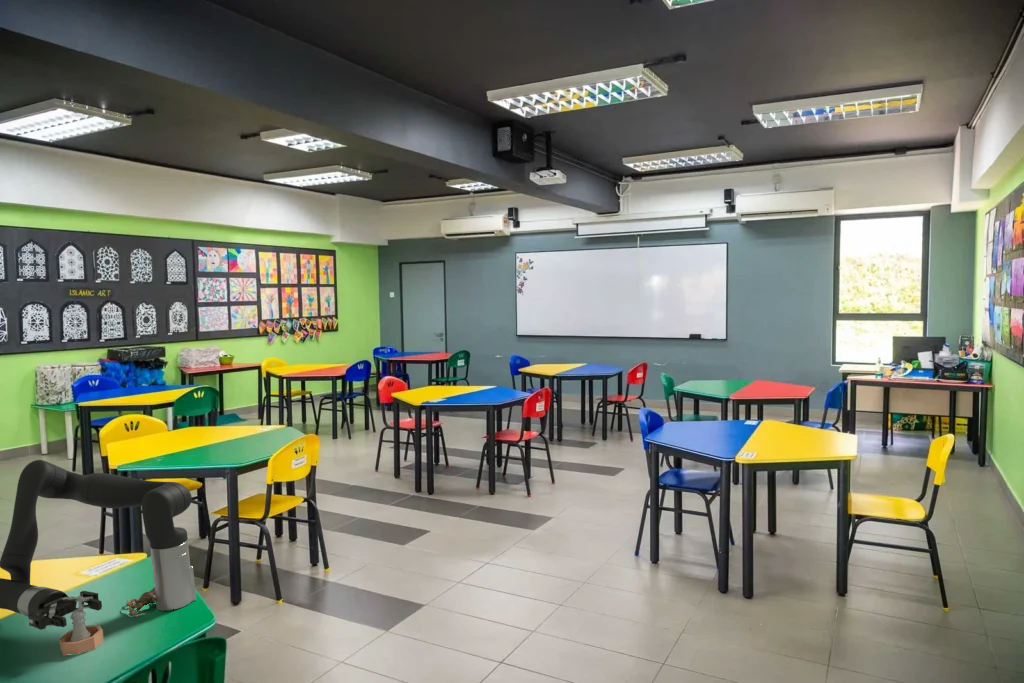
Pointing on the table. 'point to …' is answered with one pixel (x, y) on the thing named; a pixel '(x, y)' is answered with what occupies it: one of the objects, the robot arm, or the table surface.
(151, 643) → the table surface
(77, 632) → the rook chess piece
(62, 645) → the dish
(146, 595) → the frog figurine
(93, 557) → the table surface
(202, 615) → the table surface
